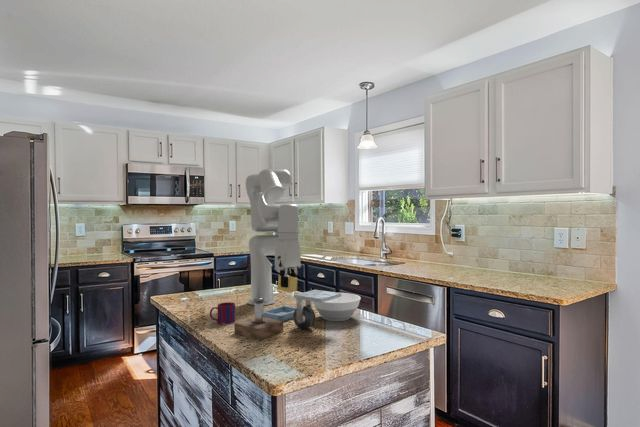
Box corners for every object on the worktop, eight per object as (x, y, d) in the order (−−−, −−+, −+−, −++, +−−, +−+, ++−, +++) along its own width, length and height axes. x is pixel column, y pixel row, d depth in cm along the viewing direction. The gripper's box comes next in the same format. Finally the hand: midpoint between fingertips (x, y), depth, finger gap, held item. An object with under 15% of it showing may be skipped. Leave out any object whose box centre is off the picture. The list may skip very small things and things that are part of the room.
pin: (259, 330, 146) (258, 296, 146) (266, 331, 144) (266, 298, 144) (251, 332, 143) (251, 298, 143) (259, 334, 141) (258, 299, 141)
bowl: (370, 317, 163) (370, 296, 163) (339, 327, 149) (339, 305, 149) (334, 309, 176) (333, 290, 176) (301, 318, 162) (301, 297, 162)
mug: (237, 322, 157) (237, 304, 157) (212, 326, 151) (212, 308, 151) (232, 318, 162) (231, 301, 162) (206, 322, 157) (206, 304, 157)
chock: (284, 287, 156) (285, 274, 156) (296, 290, 152) (297, 277, 152) (277, 289, 153) (278, 276, 153) (289, 292, 149) (290, 279, 149)
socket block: (259, 325, 152) (259, 316, 152) (283, 331, 145) (283, 321, 145) (234, 333, 142) (234, 323, 142) (258, 339, 135) (258, 329, 135)
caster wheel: (307, 322, 156) (307, 288, 156) (341, 329, 146) (341, 293, 146) (287, 329, 146) (286, 293, 146) (321, 337, 137) (321, 299, 137)
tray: (283, 311, 174) (283, 305, 174) (303, 314, 167) (303, 308, 167) (260, 318, 163) (260, 311, 163) (280, 322, 156) (280, 315, 156)
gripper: (295, 235, 161) (295, 282, 161) (265, 238, 148) (265, 288, 148) (310, 236, 157) (310, 283, 157) (280, 238, 143) (280, 290, 143)
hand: (288, 285), depth 152 cm, fingers closed on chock, 4 cm apart
